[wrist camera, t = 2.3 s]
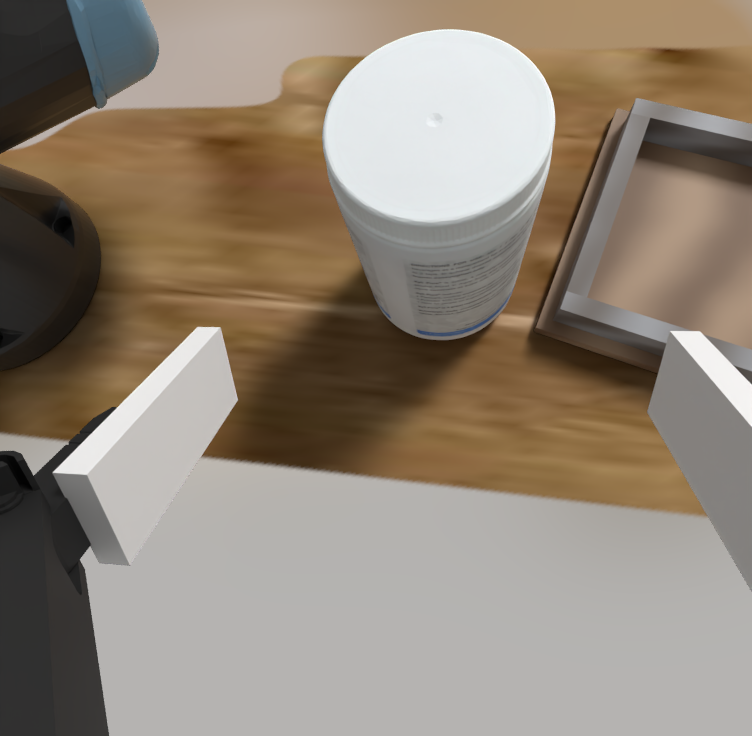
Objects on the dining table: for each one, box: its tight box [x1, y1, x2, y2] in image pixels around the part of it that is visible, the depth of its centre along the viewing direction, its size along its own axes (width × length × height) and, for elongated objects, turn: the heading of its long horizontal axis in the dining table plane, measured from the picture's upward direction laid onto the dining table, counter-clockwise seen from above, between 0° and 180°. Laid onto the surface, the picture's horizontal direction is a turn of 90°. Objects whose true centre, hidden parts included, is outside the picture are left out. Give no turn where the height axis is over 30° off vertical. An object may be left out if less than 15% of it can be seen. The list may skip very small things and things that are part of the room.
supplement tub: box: [322, 29, 555, 340], centre depth 26 cm, size 10×10×15 cm
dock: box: [534, 98, 752, 384], centre depth 30 cm, size 17×17×3 cm
